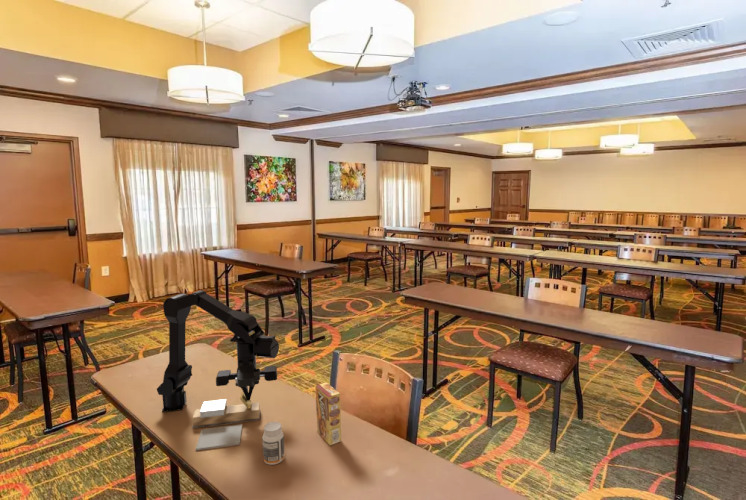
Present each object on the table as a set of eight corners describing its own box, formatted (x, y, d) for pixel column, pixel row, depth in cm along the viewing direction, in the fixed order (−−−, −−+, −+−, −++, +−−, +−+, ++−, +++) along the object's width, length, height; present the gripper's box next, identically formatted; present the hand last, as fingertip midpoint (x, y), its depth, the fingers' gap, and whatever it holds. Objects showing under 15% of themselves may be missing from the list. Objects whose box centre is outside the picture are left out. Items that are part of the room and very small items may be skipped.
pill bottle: (273, 450, 118) (272, 418, 117) (288, 456, 115) (287, 423, 114) (259, 461, 113) (257, 428, 112) (274, 468, 110) (272, 434, 109)
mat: (195, 450, 118) (195, 448, 118) (202, 431, 128) (201, 429, 128) (239, 444, 121) (239, 442, 121) (242, 426, 131) (242, 424, 130)
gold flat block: (248, 410, 133) (239, 398, 132) (249, 403, 137) (241, 392, 136) (251, 408, 133) (242, 396, 132) (252, 401, 137) (243, 390, 136)
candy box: (342, 441, 122) (341, 393, 120) (329, 446, 120) (328, 397, 118) (328, 427, 129) (327, 381, 127) (316, 432, 127) (314, 385, 125)
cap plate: (200, 417, 129) (200, 411, 129) (204, 407, 135) (203, 401, 135) (224, 415, 131) (223, 409, 130) (226, 404, 137) (226, 399, 137)
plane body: (192, 428, 129) (191, 418, 129) (195, 419, 135) (195, 409, 134) (259, 420, 134) (259, 410, 133) (260, 411, 139) (259, 401, 139)
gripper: (211, 367, 123) (214, 416, 125) (276, 362, 127) (277, 409, 129) (217, 353, 134) (219, 398, 136) (276, 348, 138) (277, 392, 140)
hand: (248, 400), depth 135 cm, fingers closed
